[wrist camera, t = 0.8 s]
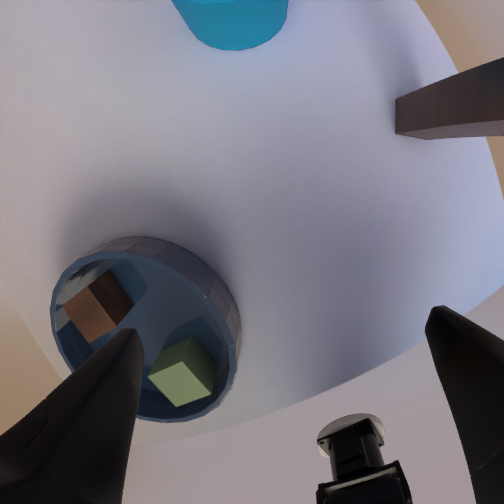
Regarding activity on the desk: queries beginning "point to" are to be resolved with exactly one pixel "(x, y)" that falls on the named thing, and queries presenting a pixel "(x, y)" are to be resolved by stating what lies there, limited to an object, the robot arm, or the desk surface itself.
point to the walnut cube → (98, 307)
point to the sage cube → (184, 372)
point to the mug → (233, 21)
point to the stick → (456, 106)
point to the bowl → (156, 316)
